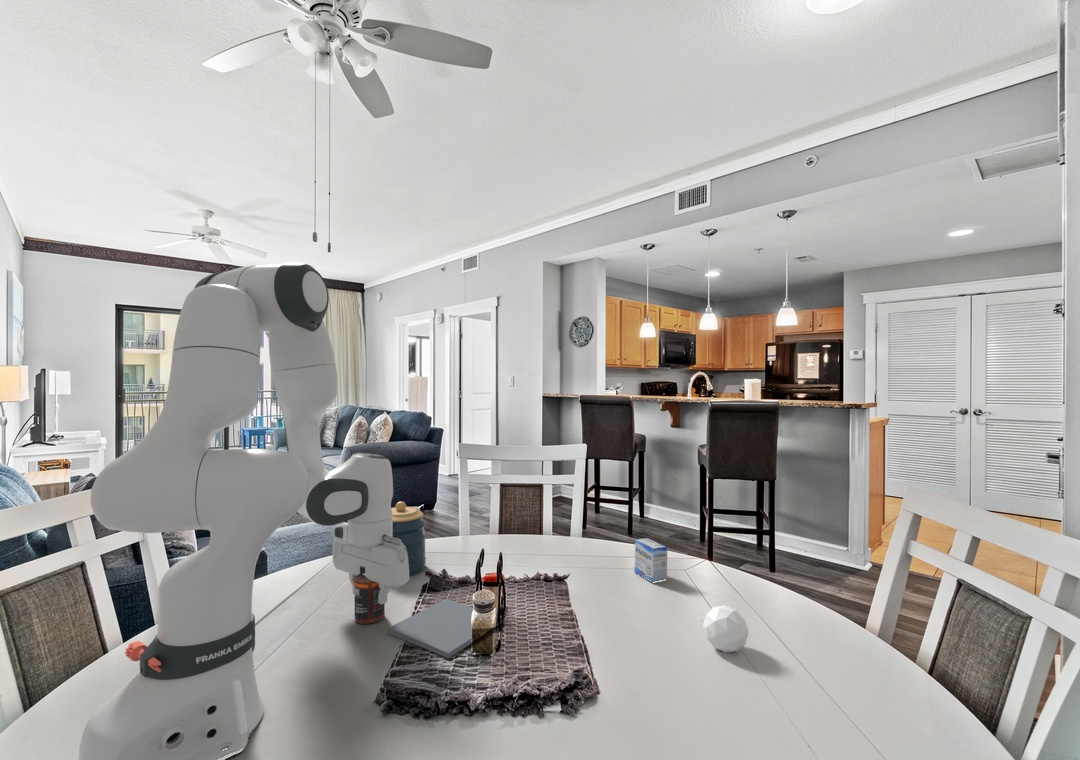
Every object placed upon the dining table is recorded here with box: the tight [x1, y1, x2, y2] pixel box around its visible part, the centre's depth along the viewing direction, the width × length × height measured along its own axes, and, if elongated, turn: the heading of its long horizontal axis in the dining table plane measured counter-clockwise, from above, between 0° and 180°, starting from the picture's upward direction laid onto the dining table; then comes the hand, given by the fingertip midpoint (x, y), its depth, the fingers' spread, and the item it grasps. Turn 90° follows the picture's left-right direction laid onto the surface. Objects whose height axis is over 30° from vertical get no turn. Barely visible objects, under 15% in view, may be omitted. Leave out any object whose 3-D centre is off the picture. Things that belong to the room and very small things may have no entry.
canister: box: [391, 501, 427, 577], centre depth 131 cm, size 13×13×18 cm
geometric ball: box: [702, 604, 749, 653], centre depth 93 cm, size 8×8×8 cm
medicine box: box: [633, 538, 668, 582], centre depth 127 cm, size 8×4×9 cm, turn 25°
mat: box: [387, 598, 472, 659], centre depth 100 cm, size 16×16×1 cm
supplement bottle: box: [354, 566, 386, 625], centre depth 104 cm, size 6×6×11 cm
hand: (369, 598), depth 103 cm, fingers closed on supplement bottle, 6 cm apart
